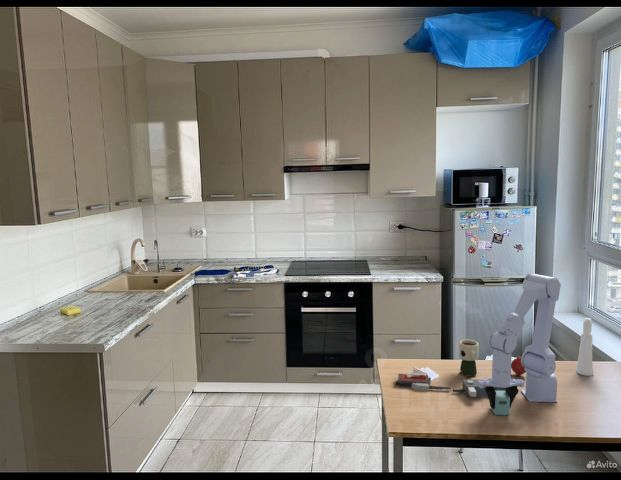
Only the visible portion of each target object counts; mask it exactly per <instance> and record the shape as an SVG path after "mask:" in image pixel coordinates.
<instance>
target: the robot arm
mask: <svg viewBox="0 0 621 480" xmlns="http://www.w3.org/2000/svg"><path fill="white" fill-rule="evenodd" d="M561 285H562V284H561V282H560V280H559V279H558V278H557V277H555V276H554V277H553V276H549V275H548V276H547V275H542V274H537V273H534V272H529V273H527V274H526V276H525V277H524V279H523V282H522V289H523V291H522V293H521V295H520V297H519V299H518V302H517V304H516V306H515V308H514V309H513V312H510V313H507V315H506V317H505V319H504V320H503V322H502V324H501V325H500V327H499V328H498V330H497V331H496V332H493V333H492V334H491V335H490V338H489V340H488V345H489V347H490V353H491V354H492V362H491V363H492V367H491V378H486V379H477V380H478V386H479V388H483V387H484V388H485V390H486V392H487V395H488V397H487V398H488V401H489V407H490V408H492V409H494V408H495V396H496V392H495V390H494V387H502V388H506V393H507V394H508V396H509V397H510V409H511V407H512V404H513V402H514V399H515V398H516V396H517V395H518V394H519V391H520V392H521V393H522V394H523V395H524V397H525V398H526V399H527V400H528V402H529V403H530V402H536V403H537V402H538V403H540V402H541V403H542V402H543V403H557V402H558V400H557V394H558V380H557V376H556V374H555V371H556V367H557V366H556V365H557V364H556V354H555V353H554V352H553V351H552V350H551V348H550V347H549V346H550V340H551V334H552V328H553V322H554V316H555V309H556V302H558V301H559V298H560V293H561V292H560V291H561ZM536 301H538V304H537V310H536V311H537V312H536V317H535V324H534V329H533V334H532V342H531V344H530V345H528V346H525V347H524V351H523V354H521V355H522V356H521V364H522V366H523V367H524V368H525V369H524V370H525V371H526V372H525V374H526V375H525V381H524V380H523V379H517V378H512V376H511V375H512V368H511V363H512V353H513V352H514V351H515V350H516V348H517V342H518V339H519V338H518V336H519V334H520V332H521V331H522V329H523V327H524V325H525V323H526V322H525V318H524V317H525V316H527V313H528V312H529V311H530V309H531V308H532V306H533V305H534V303H535V302H536ZM518 387H520V388H525V389H521V390H519V389H518ZM492 409H491V410H492Z"/></svg>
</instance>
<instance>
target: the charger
mask: <svg viewBox="0 0 621 480" xmlns="http://www.w3.org/2000/svg"><path fill="white" fill-rule="evenodd" d="M495 392H496V396H495V408H494V409H492V408H491V407H490V408H491V410H492V412H493V413H494V415H495V416H510V409H511V408H510V397H509V396H508V394H507V393H506V392H505V391H495Z"/></svg>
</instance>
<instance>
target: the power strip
mask: <svg viewBox="0 0 621 480" xmlns="http://www.w3.org/2000/svg"><path fill="white" fill-rule="evenodd" d="M478 380H479V379H467V378H466V379H462V385H461V387H462V388H453V389H452V392H453V393H464V395H465V397H466V398H471V397H470V395H469V393H468V387H474V388H475V390H476V397H475V398H488V395H487V392H486V390H485V388H484V387H483V388H479V386H478ZM494 390H495V391H505V392H506V388H502V387H494Z"/></svg>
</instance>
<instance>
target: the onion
mask: <svg viewBox="0 0 621 480" xmlns="http://www.w3.org/2000/svg"><path fill="white" fill-rule="evenodd" d="M521 358H522V356H520V355H518V356H517V357H516V358H514V359H512V360H511V371H512V372H513V373H515V375H516V376H520V377H521V376H522V375H524V374H526V371H525V370H524V369H525V368H524V367H523V366H522V364H521Z"/></svg>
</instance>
